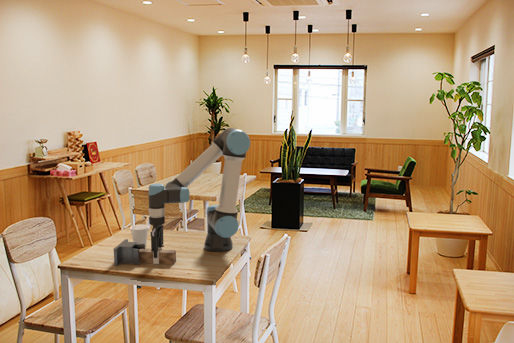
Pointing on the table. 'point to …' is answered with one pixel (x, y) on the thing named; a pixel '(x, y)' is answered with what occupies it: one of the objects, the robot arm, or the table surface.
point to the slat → (164, 256)
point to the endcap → (127, 253)
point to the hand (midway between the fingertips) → (157, 261)
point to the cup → (139, 233)
